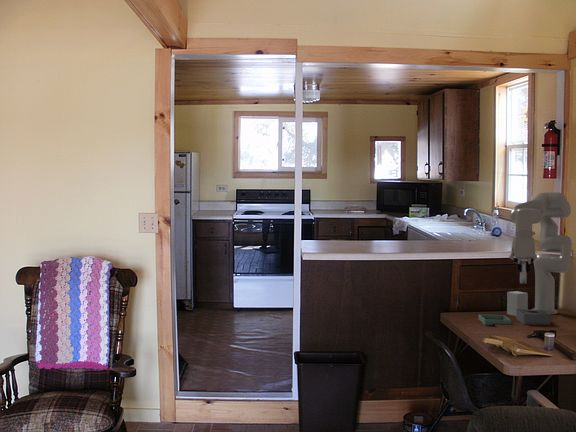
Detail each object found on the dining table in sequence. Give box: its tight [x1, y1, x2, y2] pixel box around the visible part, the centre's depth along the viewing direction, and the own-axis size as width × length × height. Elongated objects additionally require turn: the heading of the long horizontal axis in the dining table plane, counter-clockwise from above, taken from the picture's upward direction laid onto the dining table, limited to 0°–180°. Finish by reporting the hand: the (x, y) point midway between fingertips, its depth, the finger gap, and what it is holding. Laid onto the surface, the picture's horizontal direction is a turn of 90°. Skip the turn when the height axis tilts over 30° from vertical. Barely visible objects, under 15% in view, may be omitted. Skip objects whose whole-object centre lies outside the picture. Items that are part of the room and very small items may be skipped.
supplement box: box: [506, 290, 529, 317], centre depth 287 cm, size 7×7×13 cm
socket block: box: [515, 309, 552, 326], centre depth 269 cm, size 12×12×6 cm
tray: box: [478, 314, 512, 326], centre depth 271 cm, size 12×12×3 cm
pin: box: [519, 258, 528, 285], centre depth 268 cm, size 4×4×12 cm
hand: (523, 271), depth 269 cm, fingers closed on pin, 3 cm apart
